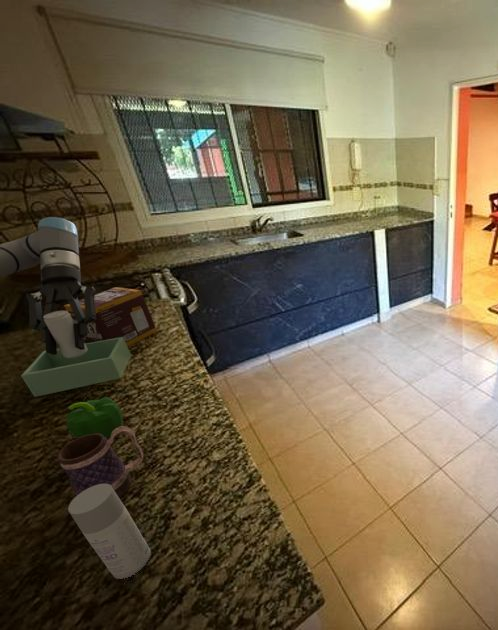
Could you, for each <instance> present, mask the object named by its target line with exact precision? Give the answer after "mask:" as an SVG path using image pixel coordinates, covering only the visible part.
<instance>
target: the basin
mask: <svg viewBox="0 0 498 630" xmlns="http://www.w3.org/2000/svg"><path fill="white" fill-rule="evenodd" d="M85 345H86V347H87V349H88V350H87V352H86V353H85V354H84V355H81V356H79V357H75V358H66V357H64V356H63V354H62V352H61V350H60V348H59V347H58V348H57V354H56V355H52V354H49V353H47V352H46V350H43V351H42V352H41V353H40V354H39V355H38V356H37V357H36V359H35V360H34V361H33V362H31V364H30V365H29V366H28V368H27V369H25V371H23V373H22V374H21V378H22V380H23V381H24V383H25V384H26V386H27V387H28V389H29V391H30V392H31V394H32V395H33V397H34V398H37V397H41V396H45V395H50V394H54V393H60V392H64V391H68V390H72V389H78V388H83V387H86V386H92V385H95V384H96V385H97V384H100V383H101V384H102V383H104V382H105V383H106V382H109V381H114V380H115V381H116V380H119V379H122V377H123V375H124V372H125V370H126V368H127V366H128V364H129V363H130V362H129V361H130V359H131V358H132V354H131V352H130V349H129V346H128V347H127V345H126V342H125V340H124V338H123V337H119V338H113V339H108V340H102V341H97V342H91V343H86V344H85Z"/></svg>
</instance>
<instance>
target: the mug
mask: <svg viewBox="0 0 498 630" xmlns="http://www.w3.org/2000/svg"><path fill="white" fill-rule="evenodd" d="M120 435H126V436H128V437H130V440H131V443H132V445H133V447H134V449H135V452H136V454H137V458H136V459H135V460H133V461H131V462H130V463H128V464H126V465H125V463H124V462H122V461H121V460H120V458H119V457H118V455H117V453H116V452H115V450H114V449H113V447H112V444H114V443H115V440H116V438H117V437H118V436H120ZM136 436H137V435H136V434H135V430H133V429H131V428H130V427H129V426H127V425H123V426H120V427H118V428H116V429H115V430H114V431H113V432H112V433H111V438H110V439H109V440H107V439H106V437H104V436H103V435H102V434H89V435H85V436H82V437H79V438H75V439H72V440H71V441H70V442H68V443H67V444H65V445H64V446H63V447H62V448H61V449H60V451H58V453H57V459H58V462H59V464H60V466H61V468H62V469H63V470H64V472H65V473H66V475H67V477H68V479H69V480H70V482H71V484H72V486H73V487H74V488H73V491H74V492H75V495H76V496H77V495H79V494H80V493H81V492H83V491H84V490H86V489H88V488H90V487H92V486H95V485H98V484H109V485H111V487H112V488H113V490H114V491H115V493H116V494H117V496H118V497H119V499H120V498H122V497H123V496H124V495H125V494H126V493H127V492H128V490H129V489H130V488H131V486H132V485H133V484H132V483H133V477H132V476H131V474H129V471H131V470H133V469H134V468H136V467H137V466H138V465H140V464H141V463H142V462H143V459H144V452H143V450H142V448H141V446H140V443H139V442H138V440H137V437H136Z"/></svg>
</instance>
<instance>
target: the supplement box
mask: <svg viewBox="0 0 498 630" xmlns="http://www.w3.org/2000/svg"><path fill="white" fill-rule="evenodd" d="M78 300H79V304H80V306H81V309H82V311H83V313H84V315H85V317H86V313H85V302H84V298H82V299H78ZM94 301H95V311H96V321H95V322H90V323H88V325H87V328H88V335H87V336H84V343H85V344H86V343H91V342H97V341H102V340H108V339H113V338H119V337H123V338H124V340H125V342H126V345H127V347H128V348H129V347H131V346H132V345H134V344H136V343H138V342H140V341H142V340H144V339H146V338H147V337H149V336H152V335H154V334H155V333H158V332H157V331H158V330H157V328H156V325H155V322H154V320H153V318H152V315H151V312H150V310H149V307H148V304H147V302H146V299H145V297H144V295H143V292H142V290H141V289H134V288H127V287H117V286H116V287H111V288H109V289H107V290H104V291H100V292H98V293H95V296H94ZM63 307H64V309H65V311H68V313H70V315H71V317H72V319H73V321H74V323H78V322H77V321H76V317H75V315H74V313H73V311H72V309H71V306H70V304H69V303H67V304H64V305H63Z"/></svg>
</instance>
